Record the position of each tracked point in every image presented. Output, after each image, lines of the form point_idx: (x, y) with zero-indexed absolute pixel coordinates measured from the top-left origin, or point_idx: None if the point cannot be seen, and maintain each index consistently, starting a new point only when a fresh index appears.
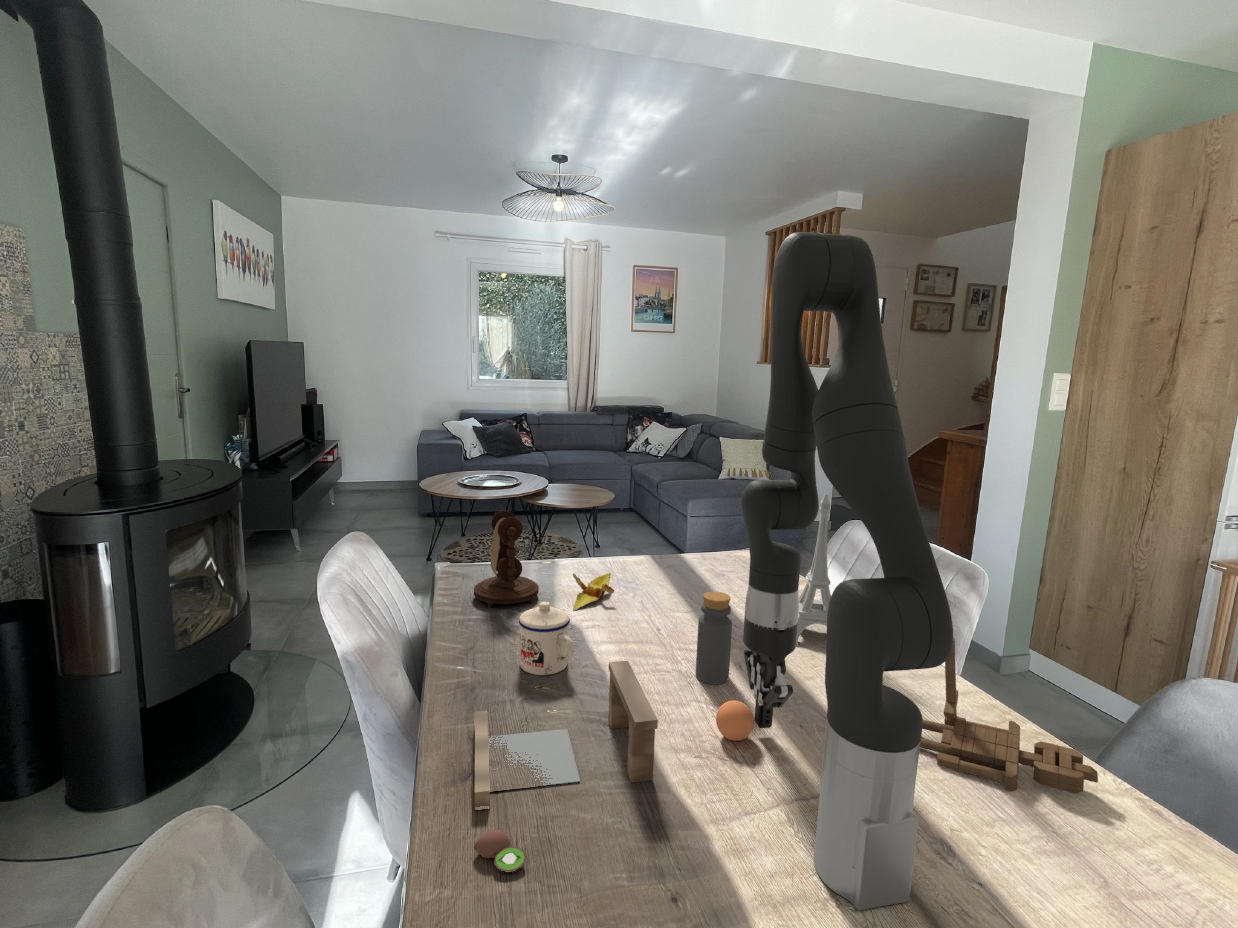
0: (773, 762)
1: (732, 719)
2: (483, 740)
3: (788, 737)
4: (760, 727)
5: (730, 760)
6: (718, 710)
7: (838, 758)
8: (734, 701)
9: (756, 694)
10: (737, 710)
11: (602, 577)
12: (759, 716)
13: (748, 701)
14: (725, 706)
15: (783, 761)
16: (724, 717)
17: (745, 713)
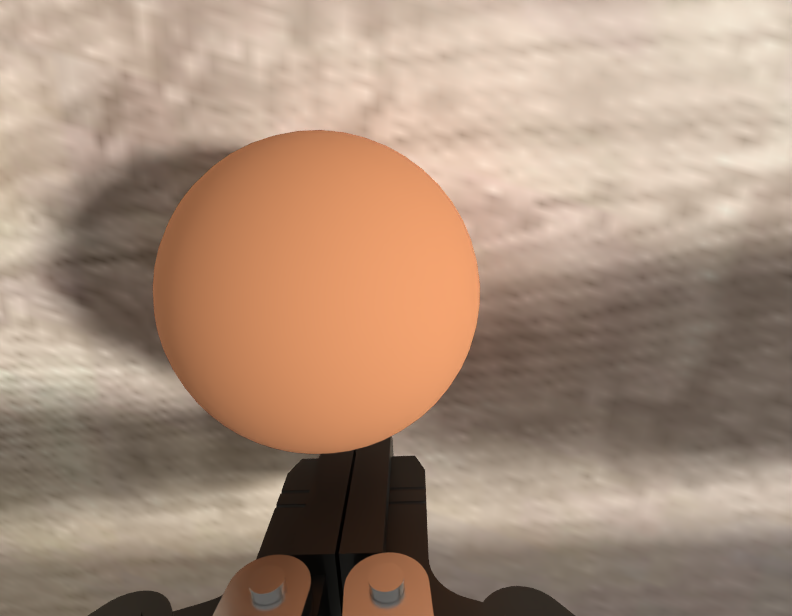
0: (108, 403)
1: (164, 249)
2: None
3: None
4: None
5: (99, 164)
6: (359, 160)
7: None
8: (332, 349)
9: (350, 611)
10: (197, 331)
11: None
12: (315, 486)
13: (727, 469)
14: (285, 226)
15: (123, 453)
16: (214, 183)
17: (195, 393)
